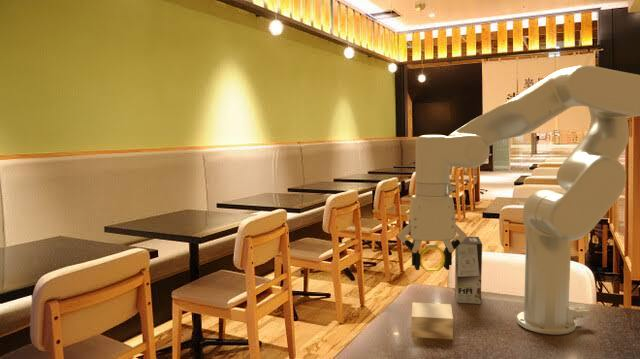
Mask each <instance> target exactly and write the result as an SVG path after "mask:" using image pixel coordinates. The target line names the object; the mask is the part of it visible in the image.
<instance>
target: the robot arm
mask: <svg viewBox="0 0 640 359" xmlns="http://www.w3.org/2000/svg"><path fill="white" fill-rule="evenodd" d="M572 107H588V111H589V116H590V123H589V127H588V128H589V129H588V131H587V132H586V134H585V135H584V136H583V138H582V139H581V141H580V142H579V143H578V144H577V145H576V147H575V148H574V149H573V150H572V151H571V153H570V154H569V155H568V156H567V157H566V159H565V160H564V161H563V162H562V163H561V165H560V166H559V168H558V169H557V173H556V180H557V184H558V185H559V186H560V188H561V189H563V190H564V191H565V193H562V192H559V191H556V190H549V189H543V190H538V191H535V192H533V193H532V194H530V195H529V196H528V197H527V198H526V199H525V202H524V204H523V208H522V219H523V220H522V221H523V227H524V235H525V236H524V238H525V258H524V260H525V263H524V265H525V266H524V298H523V301H524V302H523V303H524V306H523V311H522V312H519V313H517V315H516V322H517V324H518V325H520V326H521V327H523V328H524V329H525V330H528V331H531V332H534V333H538V334H542V335H543V334H544V335H560V336H561V335H566V334H570V333H573V332H574V331H575V330H576V322H575V321H576V320H577V319H590V318H591V312H590V310H589V309H580V308H579V306H577V307H576V306H573V307H571V306H569V304H570V280H571V279H570V278H571V256H572V255H571V254H572V251H571V244H570V243H571V242H573V241H578V240H580V239H583V238H584V237H585V236H587V235H588V234H589V233H590V232H591V231H592V230H593V229H594V228H595V227H596V226H597V225H598V224H599V222H600V221H601V220H602V218H603V217H604V216H605V215H606V214H607V213H608V211H609V210H610V209H611V208H612V207H613V205H614V204H615V203H616V202H617V201H618V199H619V198H620V197H621V195H622V193H623V192H624V189H625V187H626V182H627V173H626V170H625V167H624V166H623V164H622V163H621V162H620V161H619V160H618V159H619V157H621V155H622V154H623V152H624V151H625V150H626V148H627V146H628V143H629V138H630V131H629V130H630V129H629V121H628V118H634V117H640V74H636V73H631V72H625V71H621V70H615V69H609V68H605V67H600V66H596V65H587V64H586V65H585V64H583V65H577V66H571V67H565V68H562V69H559V70H556V71H555V72H553V73H551V74H549V75H548V76H546V77H545V78H543V79H541V80H540V81H537V83H535V84H533V85H532V86H530V87H528V88H527V89H526V90H524V91H522V92H520V93H519V94H517V95H516V96H514V97H512V98H511V99H509V100H508V101H506V102H503V103H502V104H499V105H498V106H496V107H495V108H493V109H491V110H489V111H487V112H485V113H483V114H481V115H479V116H477V117H476V118H473V119H471V120H470V121H469V122H467V123H466V124H464V125H463V126H461V127H459V128H458V129H456V130H455V131H454V130H453V132H451V133H450V134H449V135H448V136H447V135H443V134H424V135H422V134H421V135H420V136H418V137H417V138H416V140H415V172H414V173H415V177H414V178H415V182H414V183H415V188H414V189H415V191H414V192H415V194H413V195H411V197H410V203H409V211H408V212H409V213H408V222H407V223H408V224H407V225H406V226H405V227H404V228H402V230H401V231H399V233H397V235H396V236H397V238H398V239H399V240H400V241H401V242H402V243H403V244H404V245H405V246H406V248H408V249H409V250H410V251H411V266H413V267H414V269H415V270H416V271H419V270H421V268H420V267H421V266H420V252H419V250H420V246H421V243H422V242H431V241H432V242H443V245H444V246H445V247H444V250H442V251H443V252H444V254H445V264H444V266H443V268H444V269H445V270H446V271H449V270H450V266H452V264H453V262H452V261H453V257H452V256H453V253H454V252H455V248H456V247H457V246H458V245H459V244H460V243H461V242H462V241H463V240H464V239H465V238H466V237H468V235H467V234H466V233H465V232H464V231H463V230H462V229H461V228H460V227H459V226H458V225H457V223H456V222H457V221H456V212H455V204H454V198H453V195H451V193H452V192H454V191H456V190H457V185H456V184H451V182H450V180H451V167H456V168H465V169H474V168H478V167H480V166H482V165H484V164H485V163H486V162H487V160H488V159H489V156H490V152H491V151H490V147H491V146H493V145H494V144H497V143H500V142H501V141H504V140H507V139H508V140H509V139H513V138H518V137H521V136H524V135H527V134H530V133H532V132H533V131H535V130H537V129H539V128H540V127H541V126H543V125H544V124H546V123H547V122H549V121H551V120H552V119H554V118H556V117H557V116H559V115H561V114H562V113H565V112H566V111H567V110H568V109H571V108H572ZM456 234H457V236H456ZM407 235H409V236H410V237H411V239H412V242H411V241H410V240H409V239H408V238H407ZM455 237H456V238H455Z"/></svg>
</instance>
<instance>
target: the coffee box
mask: <svg viewBox="0 0 640 359" xmlns="http://www.w3.org/2000/svg"><path fill="white" fill-rule="evenodd" d="M456 237H457V236H455V238H456ZM455 238H454V239H455ZM454 253H455V254H454V257H455V260H454V261H455V262H454V264H455V265H454V266H455V267H454V269H455V270H454V274H455V276H454V279H455V282H454V283H455V284H454V285H455V286H454V294H455V299H456V303H458V304H459V303H460V304H477V305H481V303H482V270H483V268H482V266H483V265H482V264H483V243H482V241H481V239H480V237H479V236H467V237H466V238H465V239H464V240H463V241H462V242H461V243H460V244H459V245H458V246H457V247H456V248H455V249H454Z"/></svg>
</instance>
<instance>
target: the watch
mask: <svg viewBox="0 0 640 359" xmlns="http://www.w3.org/2000/svg"><path fill="white" fill-rule="evenodd" d="M429 250H430V251H433V250H435V251H436V250H438V252H440V254H441V261H440V263H439V265H437V267H435V268H433V267H432V268H431V267H430V268H425V267H424V265H423V262H422V260H423V256H424V254H425V252H427V251H429ZM443 251H444V250H442V249H441V248H440V247H439V246H438V244H435V243H429V244H426V245H425V247H423V248H422V249H421V250H420V252H419V253H420V267H421V268H422V270H424V271H425V272H439V271H440V270H441V269H443V268H444V264H445V254H444V252H443Z"/></svg>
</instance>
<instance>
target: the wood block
mask: <svg viewBox="0 0 640 359" xmlns="http://www.w3.org/2000/svg"><path fill="white" fill-rule="evenodd" d="M411 306H412V307H411V338H422V339H427V338H428V339H439V340H441V339H442V340H454V316H453V309H452V304H451V303H434V302H433V303H431V302H413V301H412V304H411Z"/></svg>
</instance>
